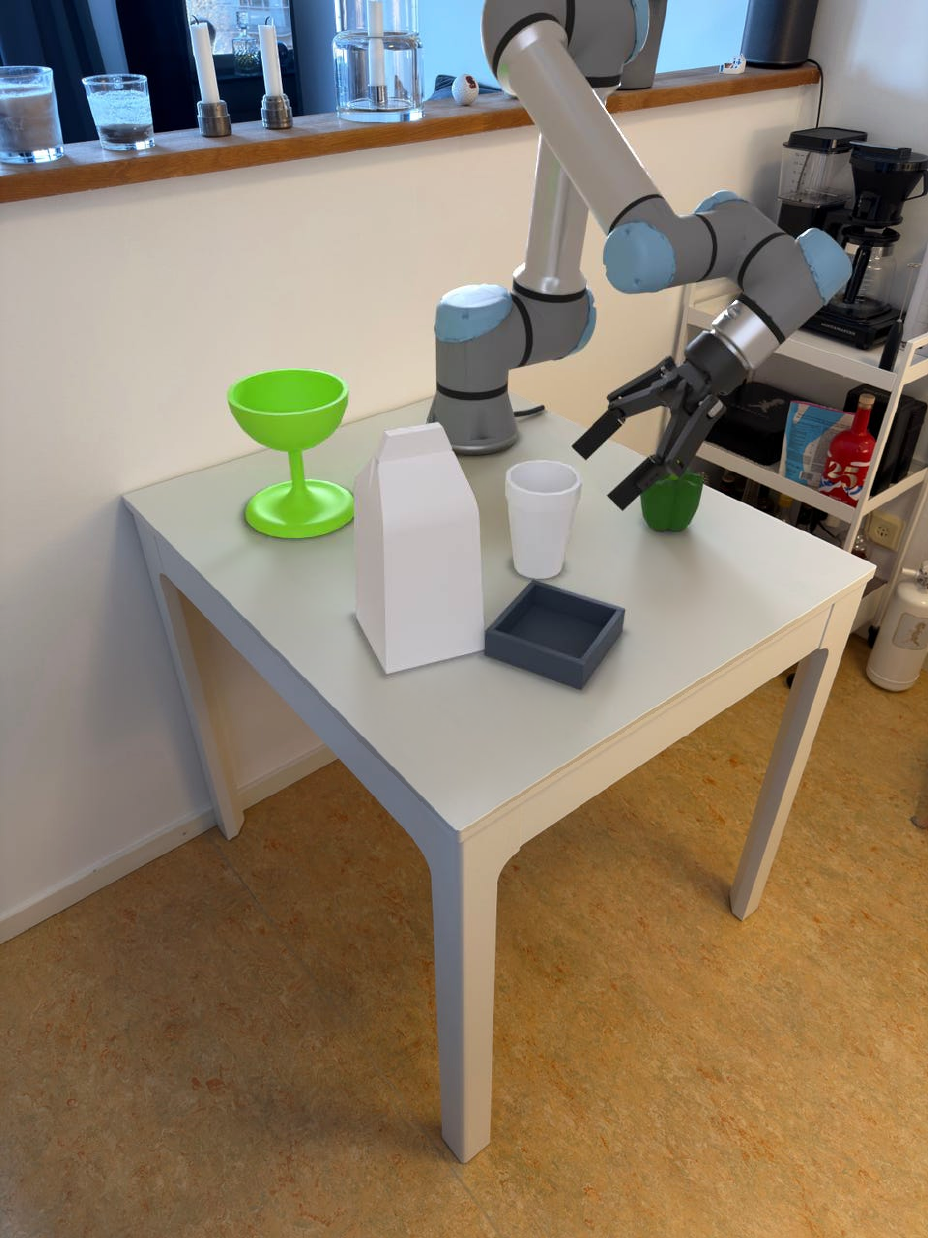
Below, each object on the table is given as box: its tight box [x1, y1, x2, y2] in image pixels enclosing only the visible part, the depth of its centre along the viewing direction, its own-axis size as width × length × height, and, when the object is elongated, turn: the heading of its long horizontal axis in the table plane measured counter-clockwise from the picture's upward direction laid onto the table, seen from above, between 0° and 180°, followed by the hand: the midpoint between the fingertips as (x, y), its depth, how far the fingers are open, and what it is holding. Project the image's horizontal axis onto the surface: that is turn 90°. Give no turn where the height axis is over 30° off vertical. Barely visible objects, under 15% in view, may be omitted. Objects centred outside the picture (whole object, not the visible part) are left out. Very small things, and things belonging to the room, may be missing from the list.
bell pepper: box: [639, 460, 704, 532], centre depth 124 cm, size 8×8×10 cm
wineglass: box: [226, 367, 354, 539], centre depth 124 cm, size 16×16×18 cm
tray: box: [484, 579, 626, 691], centre depth 104 cm, size 12×12×4 cm
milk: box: [353, 422, 485, 675], centre depth 98 cm, size 12×12×26 cm
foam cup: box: [505, 459, 583, 580], centre depth 114 cm, size 10×9×13 cm
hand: (595, 477), depth 112 cm, fingers open, 13 cm apart
